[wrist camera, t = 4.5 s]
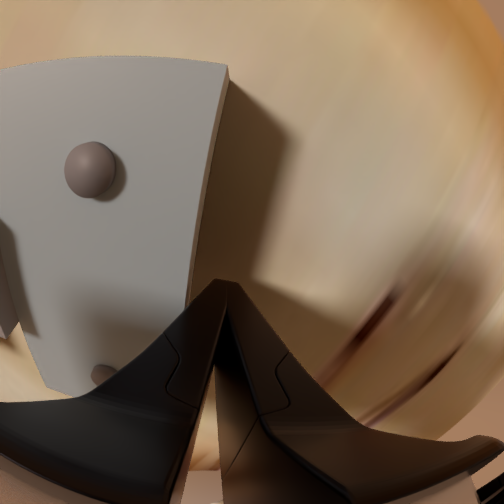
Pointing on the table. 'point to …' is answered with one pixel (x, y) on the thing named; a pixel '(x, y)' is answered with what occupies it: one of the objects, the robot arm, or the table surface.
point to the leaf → (101, 205)
